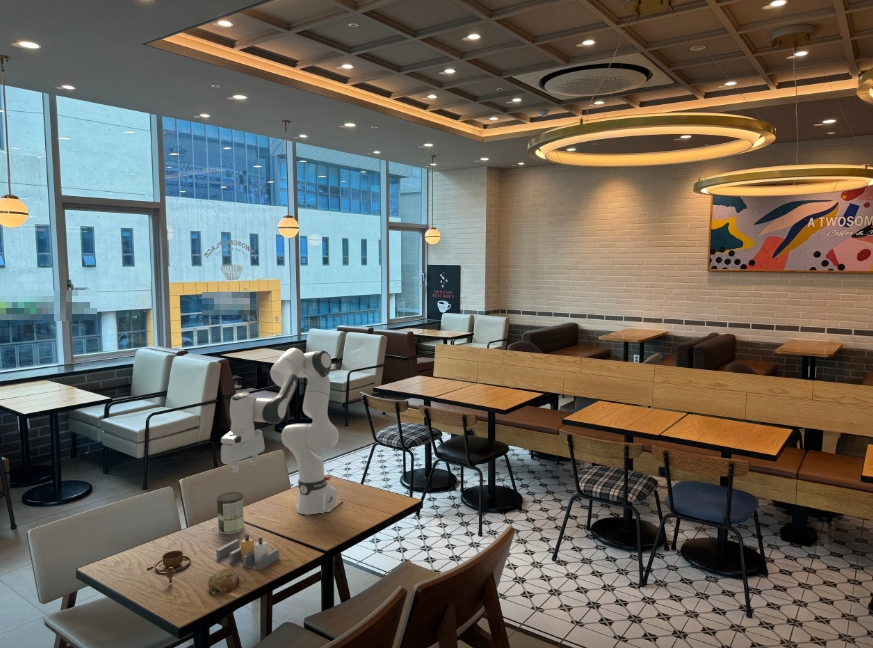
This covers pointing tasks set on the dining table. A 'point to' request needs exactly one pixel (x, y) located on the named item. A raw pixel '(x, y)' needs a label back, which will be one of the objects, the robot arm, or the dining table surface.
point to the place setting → (172, 563)
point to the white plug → (260, 549)
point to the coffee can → (230, 513)
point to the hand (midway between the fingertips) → (244, 468)
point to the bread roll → (223, 581)
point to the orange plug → (246, 546)
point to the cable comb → (233, 555)
